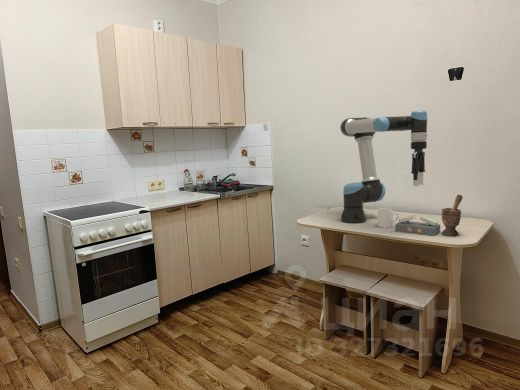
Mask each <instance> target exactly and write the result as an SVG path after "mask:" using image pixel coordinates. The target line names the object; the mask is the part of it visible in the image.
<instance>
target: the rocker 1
mask: <svg viewBox="0 0 520 390" xmlns="http://www.w3.org/2000/svg"><path fill="white" fill-rule="evenodd" d="M416 217H417V216H416V215H415V214H413V215H409V216H404V217H403V216H402V217H400V218H398V220H397V221H398V222H404V221H412V220H416V219H417V218H416Z"/></svg>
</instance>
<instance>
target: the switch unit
mask: <svg viewBox="0 0 520 390" xmlns="http://www.w3.org/2000/svg"><path fill="white" fill-rule="evenodd" d="M394 225H395V228H394V229H395V230H394V231H395V232H398V233H406V234H413V235H422V236H432V237H435V236H437V235H438V234H439V233H440V232H441V224H440V223H437V225H436V226H433V225H431V224H428V223H426V222H419V221H412V220H409V221H404V222H399V221H398V222H397V223H395V224H394Z"/></svg>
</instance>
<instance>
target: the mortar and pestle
mask: <svg viewBox="0 0 520 390" xmlns="http://www.w3.org/2000/svg"><path fill="white" fill-rule="evenodd" d="M462 201H463V195H462V194H457V195H456V196H455V199H454V203H453V206H452V207H444V208H443V207H442V208H441V221H442V223H443V226H444V227H445V229H444V230H442V233H441V235H443V236H448V237H449V236H450V237H456V236H457V237H458V236H459V235H460V234H459V232H458V230H457V227H458V226H459V225H460V222H461V218H462V217H461V216H462V210H461V209H459V208H458V207H459V206H460V204H461V202H462Z"/></svg>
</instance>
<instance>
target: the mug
mask: <svg viewBox="0 0 520 390" xmlns="http://www.w3.org/2000/svg"><path fill="white" fill-rule="evenodd" d="M393 215H396V217H395V218H394V217H393ZM399 217H400V214H399V213H398V212H397V211H394V210H393V209H392V208H386V207H385V208H383V207H382V208H378V209H377V226H378V227H379V228H385V229H390V228H393V225H394V223H393V222H396V221H399V220H398V219H400V218H399Z"/></svg>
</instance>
